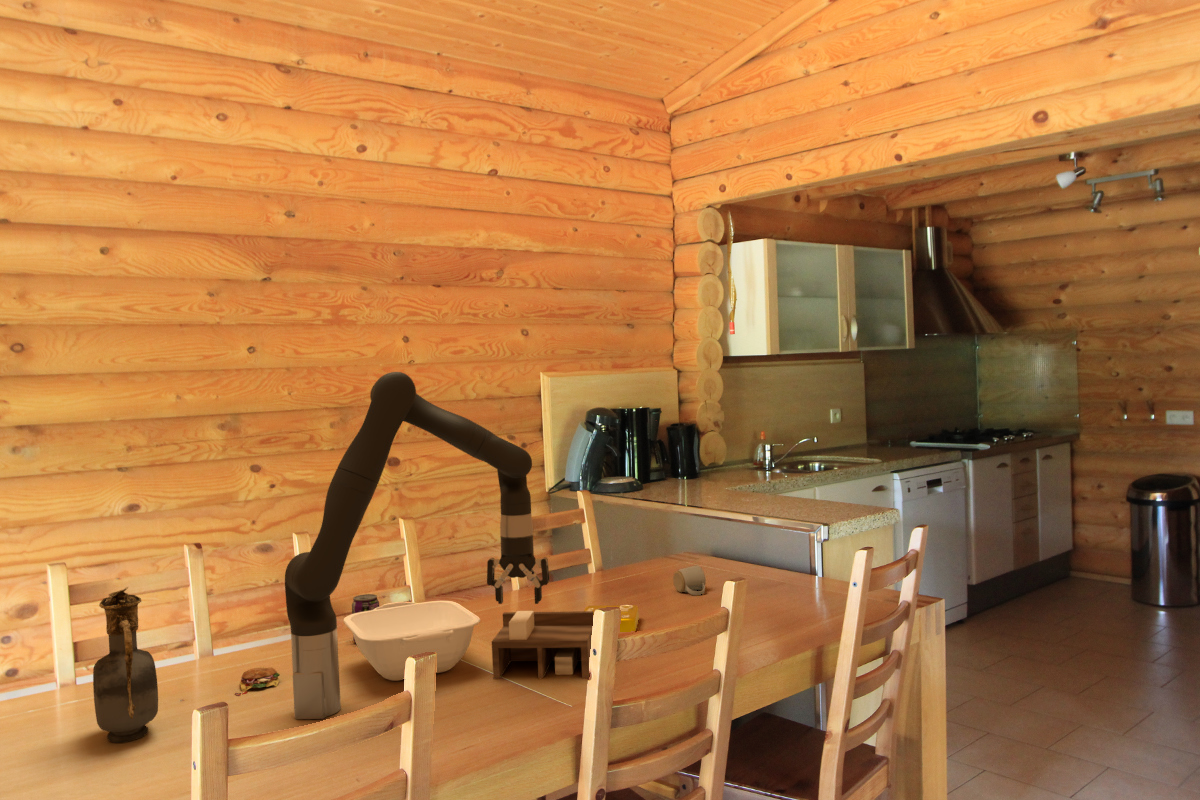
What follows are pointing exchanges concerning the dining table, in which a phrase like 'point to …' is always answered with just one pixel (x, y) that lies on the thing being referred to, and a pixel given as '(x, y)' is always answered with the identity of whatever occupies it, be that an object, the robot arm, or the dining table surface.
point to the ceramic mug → (690, 580)
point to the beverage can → (364, 603)
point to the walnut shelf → (547, 643)
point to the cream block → (521, 625)
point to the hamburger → (258, 679)
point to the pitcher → (124, 674)
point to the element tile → (623, 616)
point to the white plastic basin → (412, 634)
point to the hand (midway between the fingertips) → (519, 603)
